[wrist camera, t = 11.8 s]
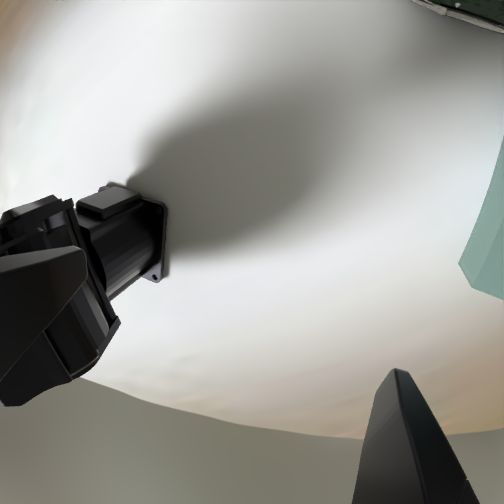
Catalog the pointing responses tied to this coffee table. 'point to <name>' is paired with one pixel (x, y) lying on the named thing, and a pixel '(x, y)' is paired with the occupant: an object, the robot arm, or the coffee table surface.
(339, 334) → the coffee table surface
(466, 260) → the shaft pedestal
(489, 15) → the miniature car
